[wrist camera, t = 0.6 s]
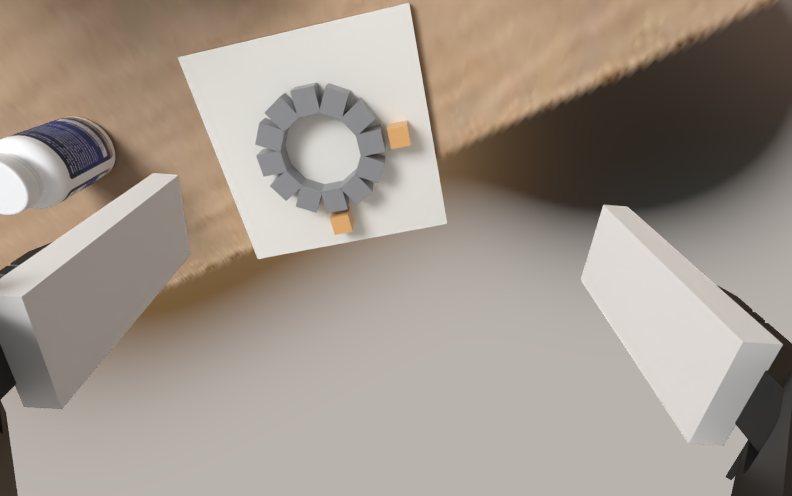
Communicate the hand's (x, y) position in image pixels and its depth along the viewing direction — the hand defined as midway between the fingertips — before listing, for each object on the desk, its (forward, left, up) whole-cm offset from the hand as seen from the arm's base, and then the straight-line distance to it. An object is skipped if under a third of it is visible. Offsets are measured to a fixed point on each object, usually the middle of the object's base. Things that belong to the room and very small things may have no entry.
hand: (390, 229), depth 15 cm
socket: (+3, -7, -25) cm, 26 cm away
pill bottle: (-1, -27, -26) cm, 37 cm away
